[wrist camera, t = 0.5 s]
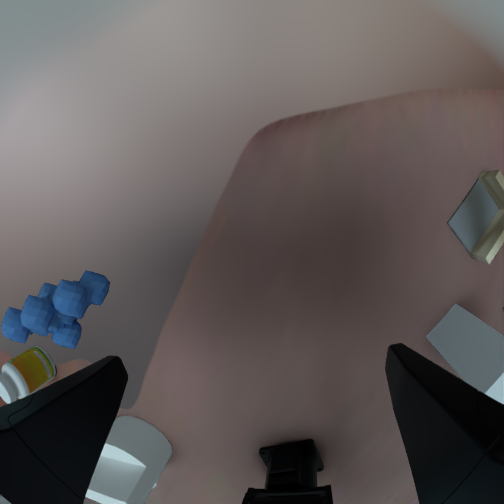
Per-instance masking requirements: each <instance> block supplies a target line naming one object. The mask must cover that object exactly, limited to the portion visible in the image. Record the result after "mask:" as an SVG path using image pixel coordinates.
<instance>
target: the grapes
mask: <svg viewBox="0 0 504 504" xmlns="http://www.w3.org/2000/svg"><path fill="white" fill-rule="evenodd" d="M109 285H110V282H109V281H108V279H107V278H106V277H105V276H104V275H101V274H98V273H94V272H90V271H85V272H84V274H83V276H82V277H81V279H80V281H79V282H78V281H73V282H71V281H67V280H61V281H60V283H59V285H58V286H55V285H53V284H49V283H44V284H43V286H42V288H41V290H40V292H39V294H38V297H35V296H31V295H29V296H28V298H27V299H26V301H25V303H24V306H23V309H22V310H18V309H15V308H11V307H9V308H8V310H7V312H6V314H5V316H4V319H3V322H2V325H1V327H2V332H3V335H4V336H6V337H7V338H9V339H10V340H12V341H16V342H20V343H25V342H26V340H27V338H28V336H29V334H32V333H36V334H38V335H41V336H47V335H48V333H51V334H52V339H53V341H54V342H55V343H56V344H58V345H60V346H62V347H68V348H73V349H75V347H76V345H77V343H78V341H79V339H80V336H81V326H80V324H79V323H78V322H77V319H81V318H82V317H83V316H84V313H85V311H86V309H87V308H88V306H90V305H91V304H96V305H101V304H102V302H103V301H104V299H105V297H106V295H107V293H108V290H109Z"/></svg>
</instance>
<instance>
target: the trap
mask: <svg viewBox="0 0 504 504" xmlns="http://www.w3.org/2000/svg"><path fill="white" fill-rule="evenodd" d="M447 223H448V225H449V226H450V227H451V229H452V230H453V231H454V233H455V234H456V236H457V237H458V238H459V240H460V241H461V242H462V244H463V245H464V247H465V248H466V250H467V251H468V253H469V254H470V256H471V257H472V258H473V259H476V260H479V261H482V262H485V263H488V264H490V262H491V261H492V259H493V258H494V256H495V255H496V253H497V252H498V250H499V249H500V247H501V246H502V244H503V242H504V176H503V175H502V173H501V171H500V170H496V171H488V172H482V173H481V175H480V176H479V178H478V180H477V181H476V183H475V184H474V186H473V187H472V189H471V190H470V192H469V193H468V195H467V196H466V197H465V199H464V200H463V202H462V203H461V205H460V206H459V207H458V209H457V210H456V212H455V213H454V214H453V216H452V217H451V218H450V220H449V221H448V222H447ZM503 311H504V308H503Z"/></svg>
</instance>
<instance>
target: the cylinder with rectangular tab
mask: <svg viewBox="0 0 504 504" xmlns="http://www.w3.org/2000/svg"><path fill="white" fill-rule="evenodd" d="M171 455H172V448H171V445H170V443H169V441H168V440H167V438H166V437H165V436H164V435H163V434H162V433H161V432H160V431H159V430H157V429H156V428H155V427H154V426H152V425H150V424H149V423H147V422H145V421H143V420H140V419H138V418H135V417H131V416H121V417H118V418H116V419H115V420H114V423H113V425H112V428H111V430H110V433H109V435H108V438H107V440H106V443H105V445H104V448H103V450H102V453H101V455H100V458H99V460H98V463H97V466H96V468H95V471H94V474H93V476H92V479H91V482H90V485H89V487H88V490H87V493H86V496H85V497H87V498H90V499H92V500H94V501H97V502H99V503H102V504H144V503H145V501H146V500H147V498H148V496H149V494H150V492H151V490H152V488H154V487H155V485H156V484H157V482H158V480H159V478H160V476H161V474H162V472H163V470H164V468H165V466H166V464H167V463H168V461H169V459H170V457H171Z"/></svg>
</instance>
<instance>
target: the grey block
mask: <svg viewBox="0 0 504 504" xmlns="http://www.w3.org/2000/svg"><path fill="white" fill-rule="evenodd" d="M426 338H427V339H428V340H429V341H430V343H431V344H432V345H433V346H434V347H435V348H436V350H437V351H438V352H439V353H440V354H441V355H442V357H443V358H444V359H445V360H446V361H447V362H448V364H449V365H450V366H451V367H452V368H453V369H454V370H455V372H456V373H457V374H458V375H459V376H460V377H461V379H462V380H463V381H465V382H466V383H468V384H470V385H471V386H473V387H474V388H476V389H478V391H481V392H483V393H484V394H486V395H488V396H490V397H491V398H493V399H495V400H497V401H498V402H500V403H502V404H504V336H503V335H501V334H500V333H498V332H497V331H496V330H494V329H493V328H491V327H490V326H489V325H487V324H486V323H484V322H483V321H481V320H480V319H479V318H477V317H476V316H474V315H473V314H471V313H470V312H468V311H467V310H465V309H464V308H462V307H461V306H459V305H458V304H456V303H455V304H454V306H453V307H452V308H451V309H450V310H449V311H448V313H447V314H446V315H445V316H444V317H443V318H442V319H441V320H440V322H439V323H438V324H437V325H436V326H435V327H434V328H433V329H432V330H431V331H430V332H429V333H428V335H427V336H426Z"/></svg>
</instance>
